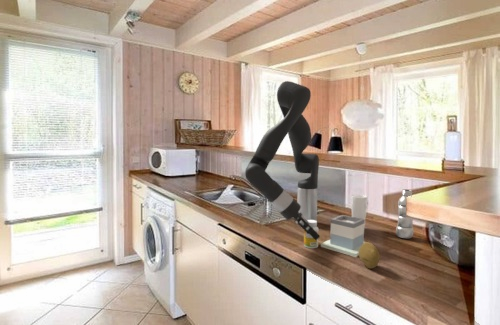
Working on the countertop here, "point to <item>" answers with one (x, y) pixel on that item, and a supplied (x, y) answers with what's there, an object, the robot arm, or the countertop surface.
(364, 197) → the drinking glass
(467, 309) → the countertop surface
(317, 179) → the robot arm
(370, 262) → the potato
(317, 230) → the supplement bottle
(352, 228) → the brick tower
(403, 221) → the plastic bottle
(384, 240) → the countertop surface
